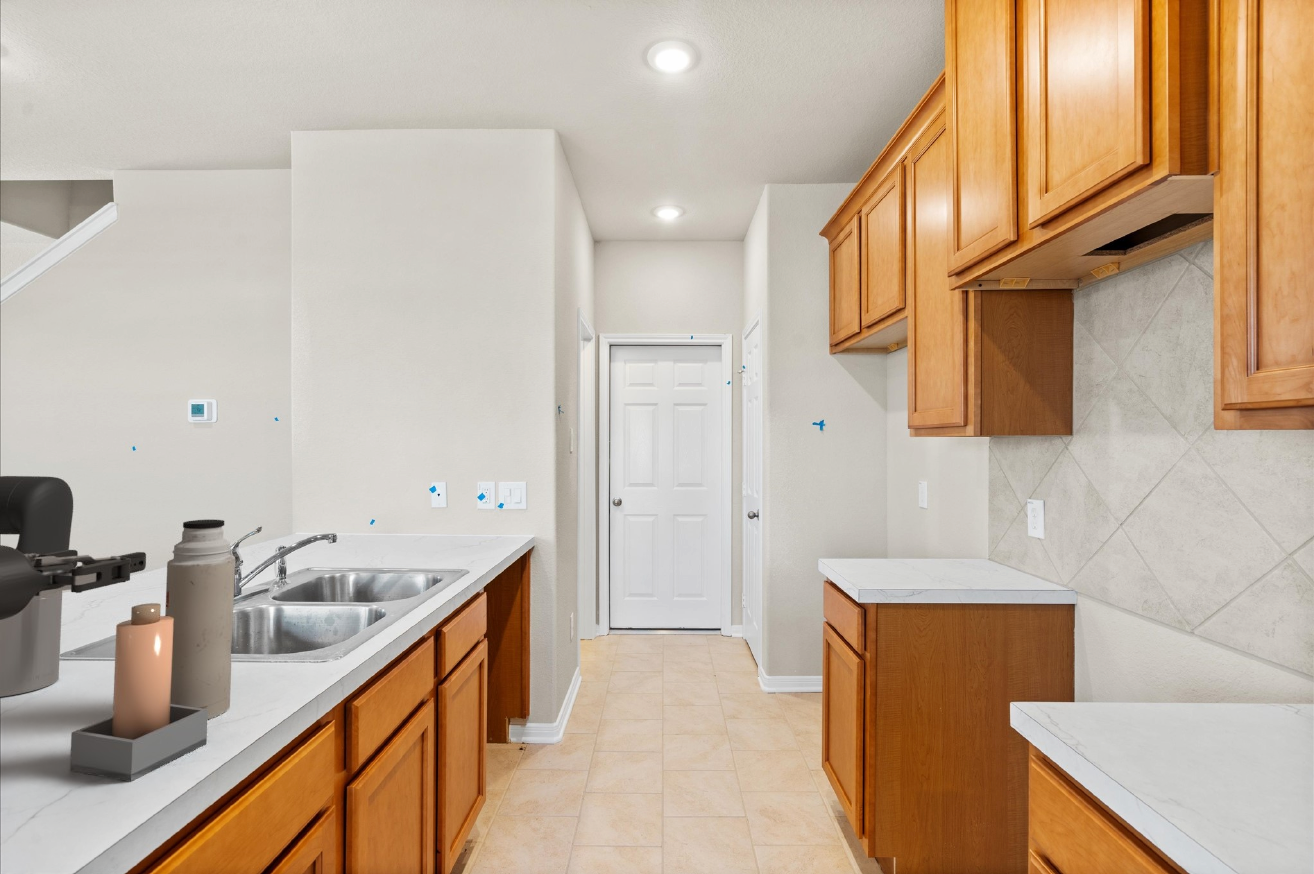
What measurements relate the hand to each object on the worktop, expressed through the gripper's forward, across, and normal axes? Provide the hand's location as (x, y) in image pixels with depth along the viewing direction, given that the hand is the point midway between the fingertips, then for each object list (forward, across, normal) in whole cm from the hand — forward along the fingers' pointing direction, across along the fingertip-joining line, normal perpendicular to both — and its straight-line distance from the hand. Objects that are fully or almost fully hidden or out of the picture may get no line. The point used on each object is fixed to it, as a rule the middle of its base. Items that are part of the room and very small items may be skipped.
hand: (108, 559), depth 73 cm
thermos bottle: (+15, +1, +26) cm, 30 cm away
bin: (+3, -2, +25) cm, 25 cm away
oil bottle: (+3, -2, +24) cm, 25 cm away
